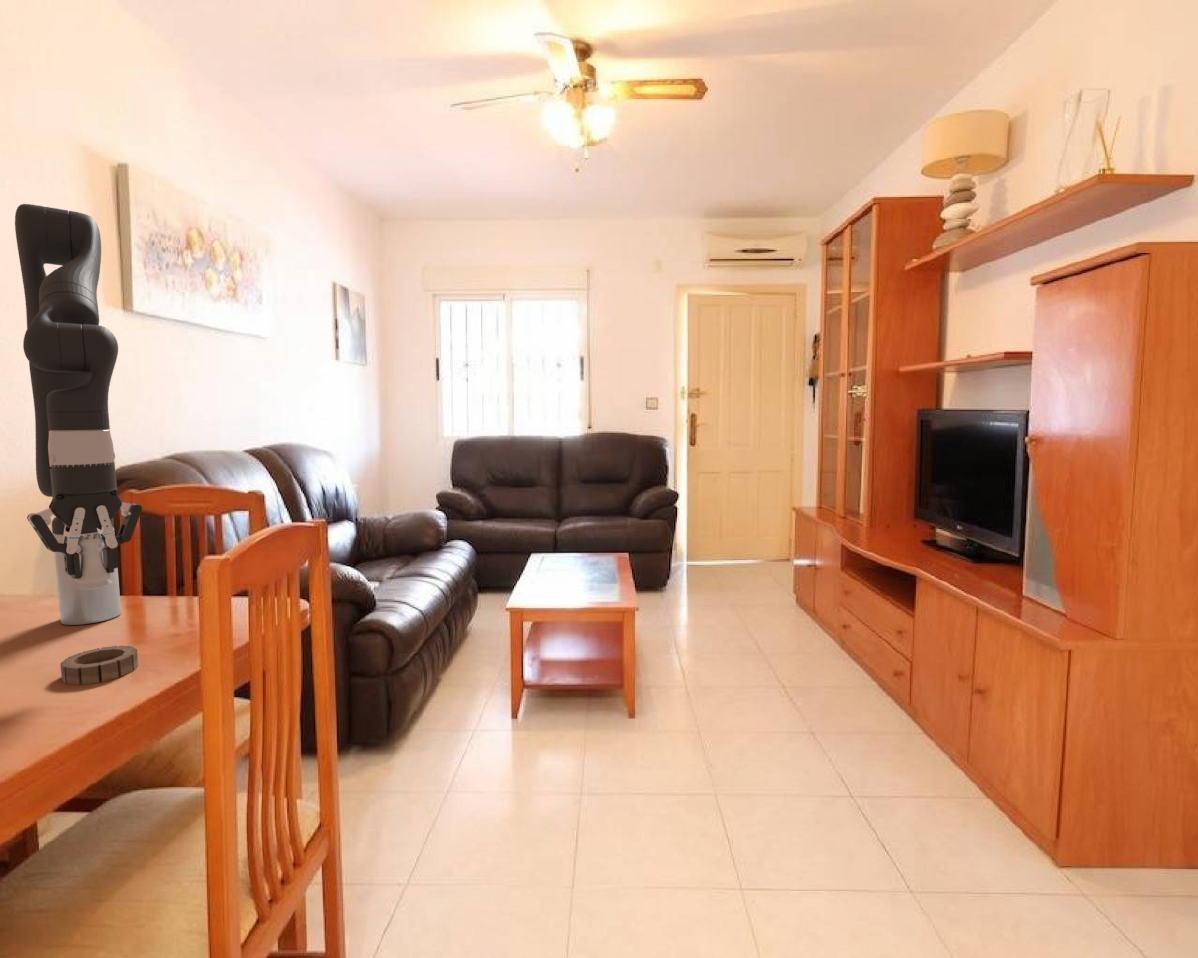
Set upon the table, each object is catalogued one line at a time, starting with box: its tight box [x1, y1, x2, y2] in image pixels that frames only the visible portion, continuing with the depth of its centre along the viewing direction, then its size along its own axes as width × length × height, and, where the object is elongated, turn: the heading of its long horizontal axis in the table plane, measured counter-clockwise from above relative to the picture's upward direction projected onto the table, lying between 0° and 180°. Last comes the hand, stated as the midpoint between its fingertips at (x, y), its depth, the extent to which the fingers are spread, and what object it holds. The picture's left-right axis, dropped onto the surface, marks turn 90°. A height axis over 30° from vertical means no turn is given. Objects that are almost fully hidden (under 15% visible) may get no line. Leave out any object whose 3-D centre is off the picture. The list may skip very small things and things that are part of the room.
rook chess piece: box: [75, 534, 112, 591], centre depth 96 cm, size 4×4×8 cm
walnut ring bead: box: [60, 645, 139, 686], centre depth 98 cm, size 9×9×2 cm
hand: (92, 574), depth 96 cm, fingers closed on rook chess piece, 3 cm apart
